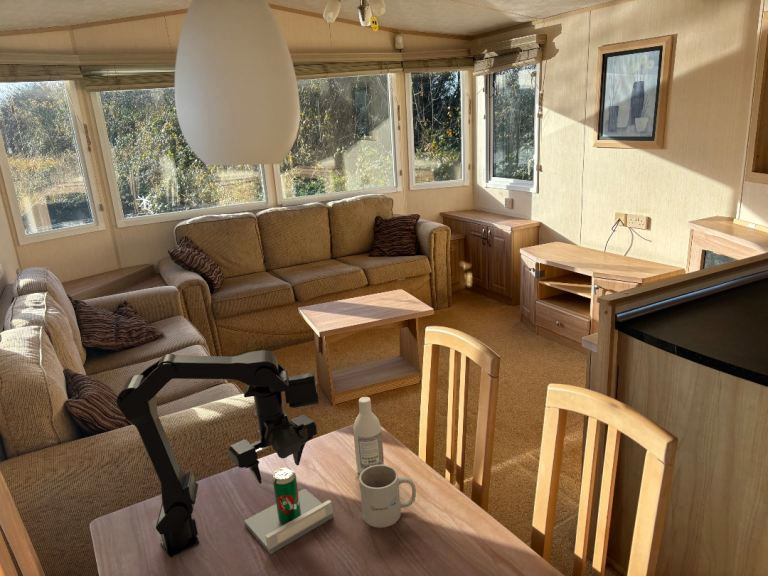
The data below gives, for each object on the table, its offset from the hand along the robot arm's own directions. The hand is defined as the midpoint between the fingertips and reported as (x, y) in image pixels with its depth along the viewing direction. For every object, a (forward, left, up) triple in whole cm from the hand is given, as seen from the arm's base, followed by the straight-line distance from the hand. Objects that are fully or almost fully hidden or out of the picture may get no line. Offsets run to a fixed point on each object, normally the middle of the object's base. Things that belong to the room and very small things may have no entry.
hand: (278, 473), depth 121 cm
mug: (+19, -15, -13) cm, 27 cm away
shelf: (+1, -1, -13) cm, 13 cm away
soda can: (+1, -1, -12) cm, 12 cm away
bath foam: (+26, +1, -13) cm, 29 cm away
